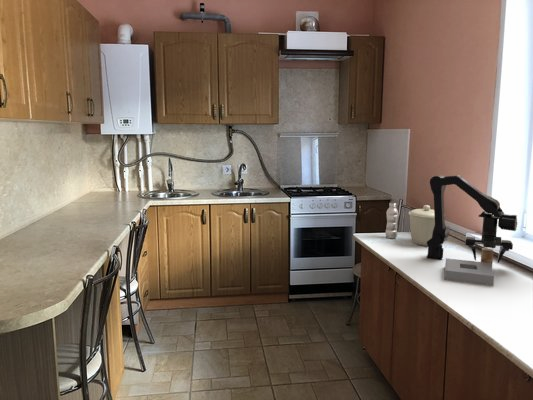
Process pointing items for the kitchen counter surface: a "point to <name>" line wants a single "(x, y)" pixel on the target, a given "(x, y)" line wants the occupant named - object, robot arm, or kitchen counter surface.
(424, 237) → the canister
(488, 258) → the walnut post
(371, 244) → the kitchen counter surface
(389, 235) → the plastic bottle
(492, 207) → the robot arm
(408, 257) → the kitchen counter surface
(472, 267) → the well block
